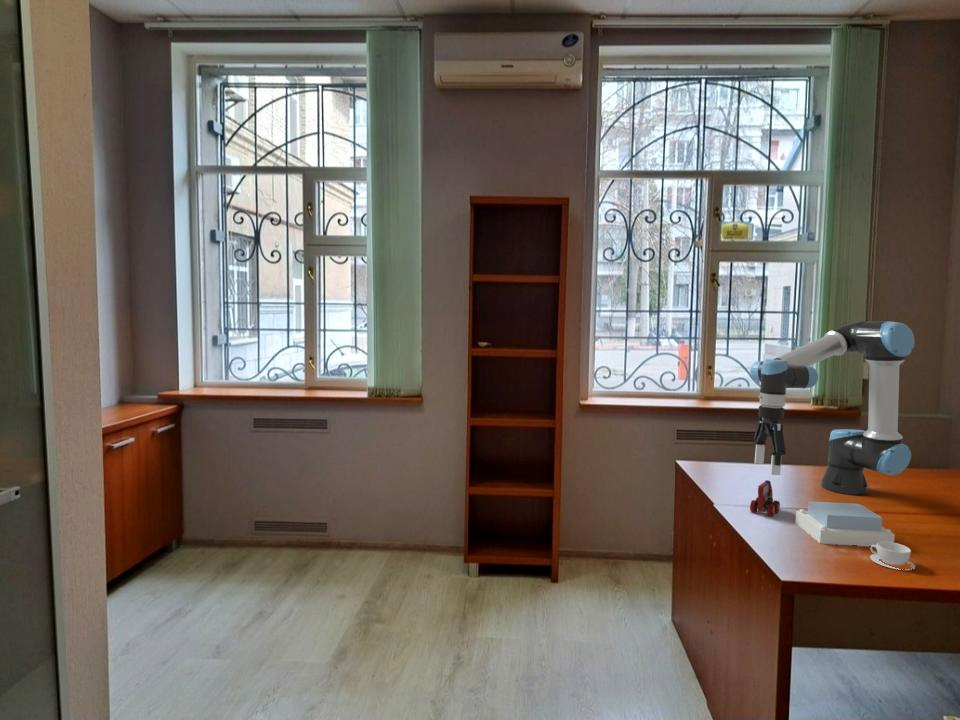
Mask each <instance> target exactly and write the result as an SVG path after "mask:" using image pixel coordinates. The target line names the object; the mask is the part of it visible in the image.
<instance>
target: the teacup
mask: <svg viewBox="0 0 960 720" xmlns="http://www.w3.org/2000/svg"><path fill="white" fill-rule="evenodd" d="M869 548H870V551H871V552H872V554H871V555H869V559H870V560H871V561H872V562H873V563H876V564H878V565H880V566H883V567H886V568H888V569H893V570H897V569H898V570H899V571H913V570H915V569H916V568H915V567H916V565H915V564H914V563H913V562H912V561H909V559H910V557H911V553H912V550H911V549H910V547H908V546H906V545H904V544H900V543H898V542H894V543H893V542H886V541H881V542H878V543H877V546H876V545H871V547H869ZM873 548H875V549H876V551H875V550H874V549H873ZM879 559H882V561H883V562H885V563H887V564H890V565H895V566H901V565H904V564H905V563H906V562H907V564H911V566H910V567H912V568H913V570H912V568H911V570H910V569H905V570H903V569H902V570H901V569H899V568H895V567H892V566H889V565H886V564H884V563H882V562H881V561H879Z"/></svg>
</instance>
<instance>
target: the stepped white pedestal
mask: <svg viewBox="0 0 960 720" xmlns="http://www.w3.org/2000/svg"><path fill="white" fill-rule="evenodd" d="M807 502H808V503H807V504H808V505H807V511H806V509H804V508H800V509H799V510H796V511H795V524H796V525H797V526H798V527H800V528H801V529H802V530H803V531H804V530H805V533H807V534H808V535H809V534H810V535H811V536H810V535H809V536H810V537H811V538H813V539H814V540H815V541H816V540H817V541H816V542H817V543H819V544H820V543H821V544H823V545H836V544H837V545H839V546H852V545H857V547H869V546H871V545H876V546H877V543H878V542H881V541H886V542H893V543H895V538H896V535H895V533H893V532H892V529H890V528H886V527H884V526H882V525H883V517H882V516H880V515H878V514H877V513H875V512H873V511H871V510H870V509H868V508H867V507H866V506H864V505H862V504H860V503H852V502H851V503H849V502H830V501H815V500H814V501H809V500H808V501H807ZM821 544H820V545H821Z"/></svg>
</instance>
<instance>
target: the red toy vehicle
mask: <svg viewBox="0 0 960 720" xmlns="http://www.w3.org/2000/svg"><path fill="white" fill-rule="evenodd" d="M780 508H781V503H780V501H779V500H774V498H773V486H772V483H771V481H770V480H767V479H766V480H764V481H763V482H762V483H760V484H759V485H758V488H757V497H756V498H755V499H753V500H751V501H750V505H749V511H750V512H751V513H753V512H754V514H756V513H757V512H760V513H766V515H767V516H768V517H772V518H773V517H774V516H775V514H779V512H780Z"/></svg>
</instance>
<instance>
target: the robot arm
mask: <svg viewBox="0 0 960 720" xmlns="http://www.w3.org/2000/svg"><path fill="white" fill-rule="evenodd" d="M915 341H916V340H915V335H914V333H913V331H912V329H911V328H910V327H909V326H908V325H907V324H906V323H902V322H897V321H888V320H887V321H884V320H883V321H880V320H879V321H876V320H875V321H869V320H860V321H855V322H850V323H848V324H844V325H842V326H839V327H837V328H834V329H831V330H830V331H827V332H825V333H824V335H823V337H820V338H818V339H816V340H813V341H811V342H808V343H807V344H805V345H804V344H803V345H802V346H799V347H797V348H795V349H793V350H791V351H788V352H786V353H784V354H782V355H781V354H780V356H777V357H775V358H772V359H771V358H770V359H769V358H767V359H764V360H761V361H760V360H759V361H755V362H754V363H753V364H752V365H751V367H750V370H749V372H750V377H751V378H752V380H754V381H755V382H760V389H759V395H758V396H757V397H758V399H759V406H758V420H757V421H758V422H757V426H756V429H755V432H754V436H753V440H752V441H754V443H755V444H756V445H755V453H754V454H755V455H754V464H759V465H764V464H765V463H764V461H765V452H766V451H765V449H766V440H767V439H768V437H769V440H770V444H771V449H772V452H771V453H770V454H771V459H770V460H771V461H770V462H771V463H770V475H771V476H781V472H782V471H781V470H782V468H781V467H782V456H786V447H785V446H786V445H785V438H784V425H783V424H782V423H779V420H783V419H785V418H784V417H785V408H784V407H785V406H786V398H787V397H786V396H787V395H786V392H787V389H803V390H804V389H808V388H809V389H810V388H813V387H815V385H816V384H817V383H818V379H819V374H818V371H817V369H816V368H815V367H813V366H812V365H815V364H818V363H819V362H821V361H824V360H826V359H829V358H830V357H834V356H838V357H839V356H843V355H845V354H848V353H856V354H857V353H858V354H859V353H860V354H864V361H866V363H868V366H869V371H868V373H869V375H868V377H869V378H868V421H867V422H868V423H867V424H868V425H867V429H866V430H863V429H853V428H852V429H847V428H844V429H843V428H841V429H840V428H839V429H833V430H832V431H831V432H830V434H829V435H830V436H829V439H828V454H827V467H826V469H825V472H824V473H823V475H822V477H821V481H820V485H821V487H822V488H824V489H825V490H829V491H832V492H835V493H838V494H843V495H853V496H854V495H855V496H856V495H857V496H859V495H860V496H861V495H862V496H863V495H866V494H868V490H869V487H868V486H869V485H868V483H867V479H866V475H865V471H864V469H868V470H870V471H874V472H878V473H879V474H886V475H889V476H896V475H899V474H901V473H902V472H904V471H905V469H907V467H908V466H909V464H910V462H911V459H912V451H911V449H910V447H909V446H908V445H907V444H904V443H903V442H904V437H903V435H902V434H901V433H899V431H898V429H899V428H898V426H899V424H898V423H899V398H900V397H899V396H900V395H899V393H900V389H899V388H900V365H901V364H903V363H904V361H906V357H907V356H908V355H909V356H910V354H911V353H912V352H913V349H914V348H915Z"/></svg>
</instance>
